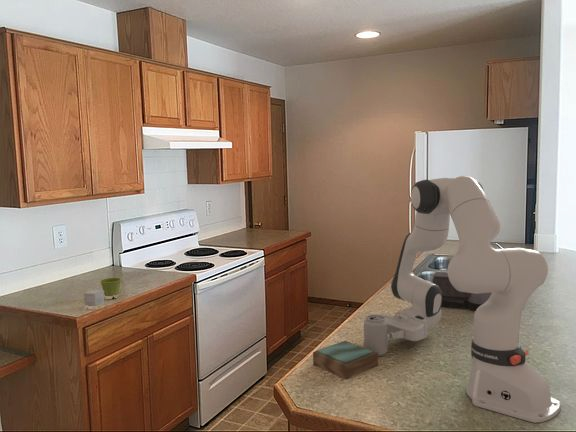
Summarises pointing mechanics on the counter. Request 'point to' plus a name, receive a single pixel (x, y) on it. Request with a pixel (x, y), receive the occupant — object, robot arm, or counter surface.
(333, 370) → the plinth
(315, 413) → the counter surface
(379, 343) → the can
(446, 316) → the counter surface
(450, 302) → the juicer
